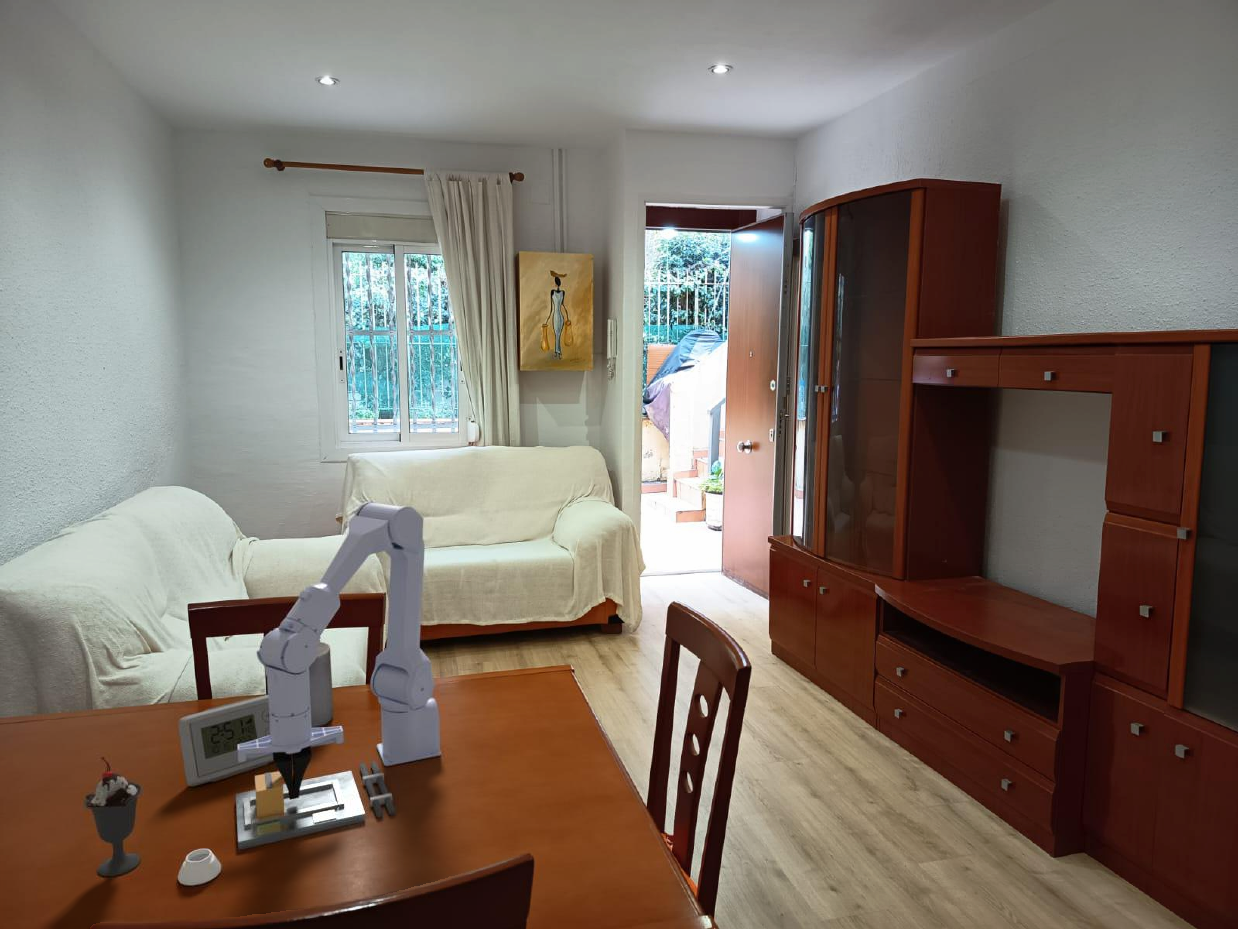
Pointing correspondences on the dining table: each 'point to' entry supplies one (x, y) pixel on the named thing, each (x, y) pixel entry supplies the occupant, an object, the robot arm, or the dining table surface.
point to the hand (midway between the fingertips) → (293, 795)
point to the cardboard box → (269, 794)
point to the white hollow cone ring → (199, 867)
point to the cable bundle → (368, 781)
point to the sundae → (115, 819)
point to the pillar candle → (321, 687)
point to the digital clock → (222, 739)
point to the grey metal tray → (301, 811)
